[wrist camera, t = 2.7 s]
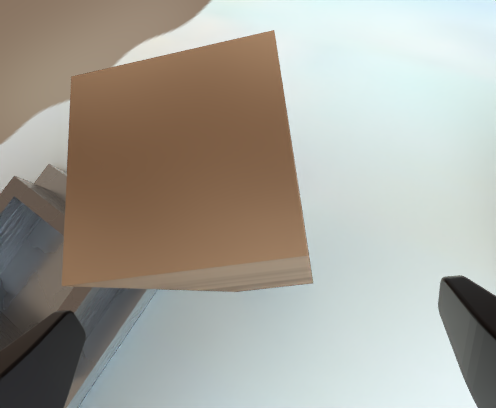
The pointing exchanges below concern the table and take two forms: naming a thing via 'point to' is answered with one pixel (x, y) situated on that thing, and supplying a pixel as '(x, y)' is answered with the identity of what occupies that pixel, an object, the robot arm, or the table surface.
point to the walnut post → (184, 174)
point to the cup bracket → (55, 279)
